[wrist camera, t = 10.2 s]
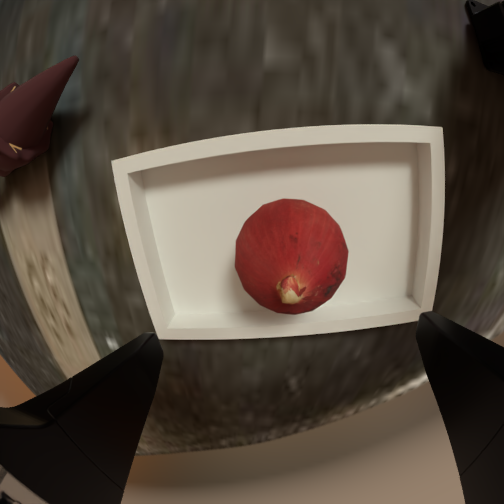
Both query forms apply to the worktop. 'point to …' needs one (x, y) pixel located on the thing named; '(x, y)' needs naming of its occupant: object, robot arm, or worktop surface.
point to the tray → (290, 187)
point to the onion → (291, 256)
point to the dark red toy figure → (30, 115)
